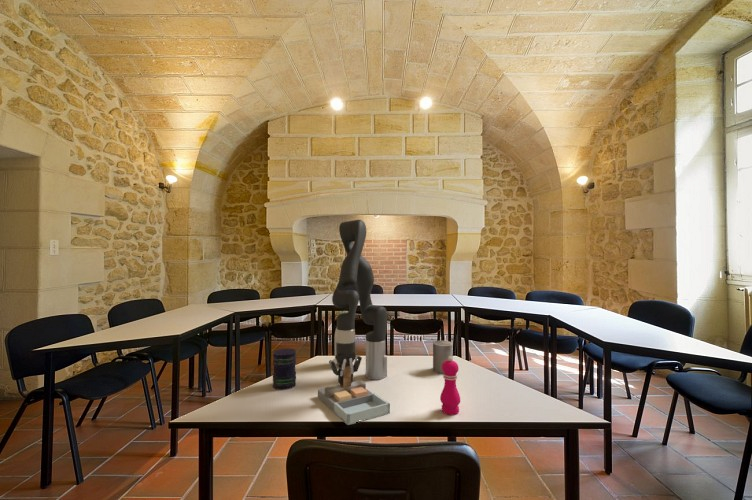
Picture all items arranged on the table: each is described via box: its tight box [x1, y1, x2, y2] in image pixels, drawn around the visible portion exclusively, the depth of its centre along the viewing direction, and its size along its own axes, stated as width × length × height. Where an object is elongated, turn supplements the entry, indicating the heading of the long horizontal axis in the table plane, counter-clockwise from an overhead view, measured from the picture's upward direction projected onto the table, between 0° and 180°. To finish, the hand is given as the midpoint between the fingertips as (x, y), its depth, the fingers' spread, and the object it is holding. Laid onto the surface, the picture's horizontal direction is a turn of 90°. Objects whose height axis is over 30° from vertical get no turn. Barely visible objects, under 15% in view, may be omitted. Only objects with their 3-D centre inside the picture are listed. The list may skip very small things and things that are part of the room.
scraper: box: [324, 366, 367, 398], centre depth 137 cm, size 16×4×10 cm, turn 120°
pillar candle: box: [432, 340, 454, 375], centre depth 171 cm, size 10×10×15 cm
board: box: [317, 387, 374, 413], centre depth 137 cm, size 17×16×3 cm
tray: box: [333, 392, 391, 426], centre depth 125 cm, size 17×11×4 cm, turn 121°
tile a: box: [350, 387, 369, 398], centre depth 135 cm, size 5×5×2 cm
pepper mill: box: [439, 356, 461, 416], centre depth 127 cm, size 7×7×20 cm
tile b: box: [334, 391, 351, 402], centre depth 131 cm, size 5×5×2 cm
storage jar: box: [272, 348, 297, 391], centre depth 152 cm, size 10×10×15 cm
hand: (345, 383), depth 137 cm, fingers closed on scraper, 3 cm apart
